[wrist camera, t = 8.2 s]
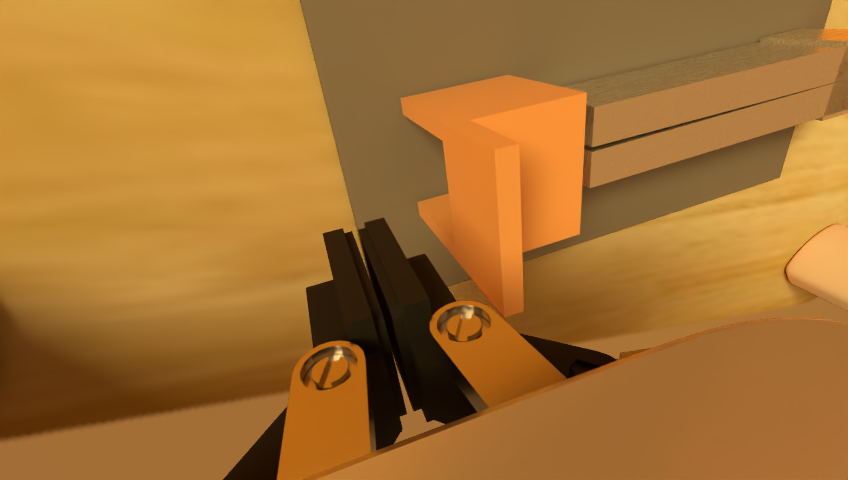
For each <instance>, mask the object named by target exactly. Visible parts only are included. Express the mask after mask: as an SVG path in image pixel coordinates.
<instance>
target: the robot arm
mask: <svg viewBox="0 0 848 480" xmlns="http://www.w3.org/2000/svg"><path fill="white" fill-rule="evenodd" d="M364 225H365V228H362V229H359V230H358V233H359V237H360V241H361V245H362V249H363V253H364V257H365V261H366V265H367V269H368V273H369V276H368V273H367V270H366V268H365V265H364V262H363V260H362V257H361V254H360V252H359V249H358V246H357V244H356V241H355V238H354V236H353V233H352V231H351V232H347V233H344V231H343V228H342V229H338V230H334V231H331V232H327V233H323V237H324V241H325V245H326V250H327V254H328V258H329V262H330V267H331V271H332V275H333V279H334V280H331V281H327V282H324V283H320V284H317V285H314V286H310V287H307V288H306V293H307V301H308V309H309V317H310V325H311V333H312V341H313V349H312V350H310V351H308V352H307V353H306V354H305V355H304V356H303V357H301V359H300V360H299V361H298V363H297V364H296V366H295V368H294V371H293V374H292V379H291V385H290V392H289V399H288V406H287V407H286V408H285V410H284V411H283V412H282V413H281V414H280V415H279V416H278V418H277V419H276V420H275V421H274V422H273V423H272V424H271V426H270V427H269V428H268V429H267V430H266V431H265V432H264V434H263V435H262V436H261V437H260V438H259V439H258V440H257V442H256V443H255V444H254V445H253V446H252V447H251V448H250V450H249V451H248V452H247V453H246V454H245V455H244V456H243V458H242V459H241V460H240V461H239V462H238V463H237V464H236V466H235V467H234V468H233V469H232V470H231V471H230V472H229V474H228V475H227V476H226V477H225V478H224V479H223V480H848V324H847V323H843V322H839V321H835V320H826V319H816V318H772V319H760V320H753V321H746V322H739V323H735V324H730V325H726V326H722V327H717V328H713V329H709V330H706V331H703V332H700V333H696V334H693V335H690V336H687V337H684V338H681V339H677V340H674V341H671V342H668V343H665V344H663V345H660V346H657V347H654V348H649V349H642V350H636V351H629V352H622V353H620V358H619V359H615V358H613V357H611V356H609V355H607V354H604V353H601V352H598V351H593V350H589V349H585V348H581V347H576V346H572V345H568V344H563V343H559V342H555V341H550V340H546V339H541V338H537V337H533V336H528V335H524V334H520V333H518V332H517V331H515V330H514V329H513V328H512V327H511V326H510V325H509V324H508V323H507V322H506V321H505V320H504V319H503V318H501V317H500V316H499V315H498V314H497V313H496V312H495V311H494V310H493V309H492V308H490V307H489V306H487V305H486V304H483V303H480V302H477V301H467V300H466V301H457V302H456V300H455V298H454V297H453V295H452V294H451V292H450V291H449V289H448V288H447V286H446V285H445V283H444V281H443V280H442V278H441V277H440V275H439V274H438V272H437V271H436V269H435V268H434V266H433V264H432V263H431V261H430V260H429V258H428V257H427V255H426V254H421V255H417V256H414V257H410V258H406V256H405V254H404V252H403V251H402V249H401V247H400V245H399V244H398V242H397V240H396V238H395V236H394V235H393V233H392V231H391V229H390V227H389V226H388V224H387V222H386V220H385V218H384V217H383V218H379V219H376V220H372V221H368V222H364ZM369 277H370V278H369ZM392 353H393V354H392ZM393 355H394V358H395V361H396V364H397V367H398V369H399V372H400V375H401V378H402V380H403V383H404V386H405V389H406V391H407V394H408V397H409V400H410V403H411V406H412V408H413V411H416V410H419V409H422V411H423V413H424V416H425V418H426V421H427V422H429V421H432V420H436V421H439V422H441V423H444V424H445V425H443V426H440V427H438V428H435V429H432V430H430V431H427V432H424V433H422V434H419V435H416V436H414V437H411V438H408V439H406V440H403V441H400V442H398V443H395V444H394V442H395V441H396V439H397V437H398V435H399V434H400V432H402V425H401V421H400V416H403V415H405V414H407V412H406V408H405V404H404V399H403V395H402V391H401V387H400V383H399V379H398V375H397V370H396V366H395V362H394V358H393Z"/></svg>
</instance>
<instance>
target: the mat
mask: <svg viewBox="0 0 848 480" xmlns="http://www.w3.org/2000/svg"><path fill="white" fill-rule="evenodd" d="M300 3H301V7H302V11H303V15H304V19H305V23H306V27H307V31H308V35H309V39H310V43H311V47H312V51H313V55H314V59H315V63H316V67H317V71H318V75H319V79H320V83H321V87H322V91H323V95H324V99H325V103H326V107H327V111H328V115H329V119H330V123H331V127H332V131H333V135H334V139H335V143H336V147H337V151H338V155H339V159H340V163H341V167H342V171H343V176H344V180H345V184H346V188H347V192H348V196H349V200H350V204H351V208H352V212H353V216H354V220H355V224H356V228H357V232H358V230H359V229H362V228H365V225H364V222H368V221H372V220H376V219H379V218H383V217H384V218H385V220H386V222H387V224H388V226H389V227H390V229H391V231H392V233H393V235H394V236H395V238H396V240H397V242H398V244H399V245H400V247H401V249H402V251H403V252H404V254H405V256H406V258H410V257H414V256H417V255H421V254H426V255H427V257H428V258H429V260H430V261H431V263H432V264H433V266H434V268H435V269H436V271H437V272H438V274H439V275H440V277H441V278H442V280H443V281H444V283H445V285H446V286H450V285H453V284H456V283H459V282H462V281H466V280H469V279H472V278H471V277H470V276H469V275H468V274H467V272H466V271H465V270H464V269H463V267H462V266H461V265H460V264H459V263H458V261H457V260H456V259H455V258H454V257H453V255H452V254H451V253H450V252H449V250H448V249H447V248H446V247H445V246H444V244H443V243H442V242H441V241H440V240H439V238H438V237H437V236H436V235H435V234H434V232H433V231H432V230H431V229H430V227H429V226H428V225H427V224H426V223H425V221H424V220H423V219H422V218H421V217H420V215H419V209H418V203H417V202H419V201H423V200H427V199H430V198H434V197H438V196H441V195H445V194H448V193H449V190H448V182H447V174H446V165H445V157H444V149H443V141H442V140H440V139H439V138H437V137H436V136H434V135H433V134H431V133H430V132H428V131H427V130H425V129H424V128H422V127H421V126H419V125H418V124H416V123H415V122H413V121H412V120H410V119H409V118H407V117H406V116H404V115H403V111H402V105H401V99H400V98H403V97H408V96H412V95H417V94H421V93H426V92H431V91H435V90H440V89H444V88H449V87H454V86H458V85H463V84H467V83H472V82H477V81H481V80H486V79H490V78H495V77H500V76H504V75H511V76H516V77H520V78H525V79H529V80H534V81H538V82H543V83H547V84H552V85H556V86H561V87H562V86H567V85H571V84H575V83H580V82H584V81H589V80H593V79H598V78H602V77H606V76H611V75H615V74H620V73H624V72H629V71H633V70H637V69H642V68H646V67H651V66H655V65H659V64H664V63H668V62H673V61H677V60H682V59H686V58H690V57H695V56H699V55H704V54H708V53H713V52H717V51H721V50H726V49H730V48H735V47H739V46H744V45H748V44H752V43H757V42H760V38H762V37H766V36H771V35H775V34H780V33H784V32H789V31H793V30H798V29H802V28H805V29H824V27H825V23H826V20H827V16H828V13H829V10H830V6H831V3H832V0H300ZM794 128H795V126H792V127H788V128H785V129H782V130H779V131H775V132H772V133H769V134H766V135H762V136H759V137H756V138H752V139H749V140H746V141H743V142H739V143H736V144H733V145H730V146H726V147H723V148H720V149H717V150H713V151H710V152H707V153H703V154H700V155H697V156H694V157H690V158H687V159H684V160H681V161H677V162H674V163H671V164H668V165H664V166H661V167H658V168H655V169H651V170H648V171H645V172H641V173H638V174H635V175H632V176H628V177H625V178H622V179H619V180H615V181H612V182H609V183H606V184H602V185H599V186H596V187H592V188H588V187H586V186H584V185H582V201H581V221H580V234H579V235H575V236H572V237H569V238H566V239H563V240H560V241H557V242H554V243H551V244H548V245H544V246H541V247H538V248H535V249H532V250H529V251H526V252H523V253H522V258H523V261H527V260H530V259H533V258H536V257H539V256H542V255H545V254H548V253H551V252H554V251H557V250H560V249H563V248H566V247H569V246H572V245H575V244H578V243H581V242H584V241H587V240H591V239H594V238H597V237H600V236H603V235H606V234H609V233H612V232H615V231H618V230H621V229H624V228H627V227H630V226H633V225H636V224H639V223H642V222H645V221H648V220H652V219H655V218H658V217H661V216H664V215H667V214H670V213H673V212H676V211H679V210H682V209H685V208H688V207H691V206H694V205H697V204H700V203H703V202H706V201H709V200H713V199H716V198H719V197H722V196H725V195H728V194H731V193H734V192H737V191H740V190H743V189H746V188H749V187H752V186H755V185H758V184H761V183H764V182H767V181H770V180H774V179H777V178H780V175H781V171H782V168H783V165H784V161H785V158H786V154H787V151H788V148H789V144H790V141H791V138H792V134H793V131H794ZM358 236H359V233H358ZM359 240H360V237H359ZM360 244H361V241H360ZM361 248H362V245H361ZM362 252H363V249H362ZM363 256H364V253H363ZM364 260H365V257H364ZM365 264H366V261H365ZM366 268H367V265H366ZM367 272H368V269H367ZM368 276H369V273H368ZM369 278H370V277H369Z"/></svg>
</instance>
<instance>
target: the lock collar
mask: <svg viewBox="0 0 848 480" xmlns="http://www.w3.org/2000/svg"><path fill="white" fill-rule="evenodd" d="M400 99H401V105H402V111H403V115H404V116H406V117H407V118H409V119H410V120H412V121H413V122H415V123H416V124H418V125H419V126H421V127H422V128H424V129H425V130H427V131H428V132H430V133H431V134H433V135H434V136H436V137H437V138H439V139H440V140H442V141H443V149H444V157H445V165H446V174H447V182H448V190H449V193H448V194H445V195H441V196H438V197H434V198H430V199H427V200H423V201H419V202H417V203H418V209H419V215H420V217H421V218H422V219H423V220H424V221H425V223H426V224H427V225H428V226H429V227H430V229H431V230H432V231H433V232H434V234H435V235H436V236H437V237H438V238H439V240H440V241H441V242H442V243H443V244H444V246H445V247H446V248H447V249H448V250H449V252H450V253H451V254H452V255H453V257H454V258H455V259H456V260H457V261H458V263H459V264H460V265H461V266H462V267H463V269H464V270H465V271H466V272H467V274H468V275H469V276H470V277H471V278H472V280H473V281H474V282H475V283H476V284H477V286H478V287H479V288H480V289H481V291H482V292H483V293H484V294H485V295H486V297H487V298H488V299H489V300H490V301H491V303H492V304H493V305H494V306H495V308H496V309H497V310H498V311H499V312H500V314H501V315H502V316H503V317H504V318H507V317H509V316H512V315H515V314H518V313H521V312H523V311H524V293H523V258H522V253H523V252H526V251H529V250H532V249H535V248H538V247H541V246H544V245H548V244H551V243H554V242H557V241H560V240H563V239H566V238H569V237H572V236H575V235H579V234H580V221H581V201H582V181H583V161H584V141H585V121H586V101H587V92H583V91H579V90H574V89H570V88H565V87H561V86H556V85H552V84H547V83H543V82H538V81H534V80H529V79H525V78H520V77H516V76H511V75H504V76H500V77H495V78H490V79H486V80H481V81H477V82H472V83H467V84H463V85H458V86H454V87H449V88H444V89H440V90H435V91H431V92H426V93H421V94H417V95H412V96H408V97H403V98H400Z"/></svg>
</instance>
